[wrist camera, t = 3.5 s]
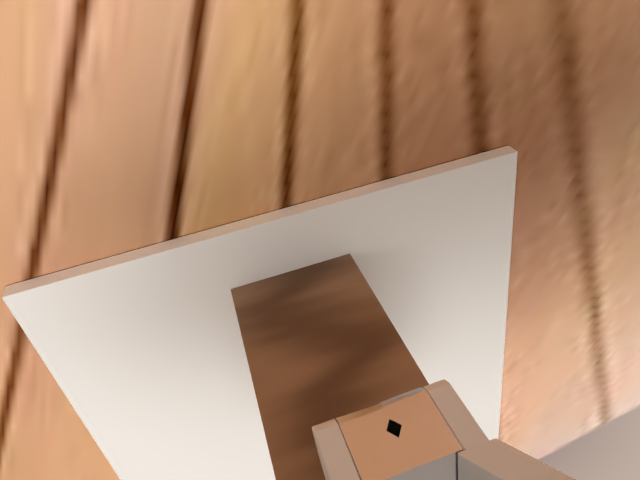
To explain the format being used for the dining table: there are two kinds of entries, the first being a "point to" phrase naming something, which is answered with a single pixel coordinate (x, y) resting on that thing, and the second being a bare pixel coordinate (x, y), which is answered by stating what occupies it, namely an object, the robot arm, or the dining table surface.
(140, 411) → the white mat
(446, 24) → the dining table surface
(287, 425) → the walnut block
